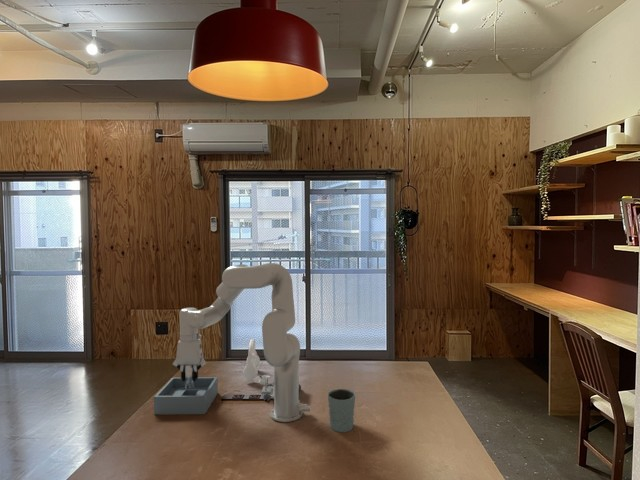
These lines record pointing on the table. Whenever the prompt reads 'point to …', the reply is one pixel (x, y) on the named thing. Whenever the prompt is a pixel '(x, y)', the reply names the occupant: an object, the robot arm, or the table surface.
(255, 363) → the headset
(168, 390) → the open box
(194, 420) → the table surface
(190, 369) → the peg
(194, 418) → the table surface
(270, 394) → the toy car
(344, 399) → the teal cup
